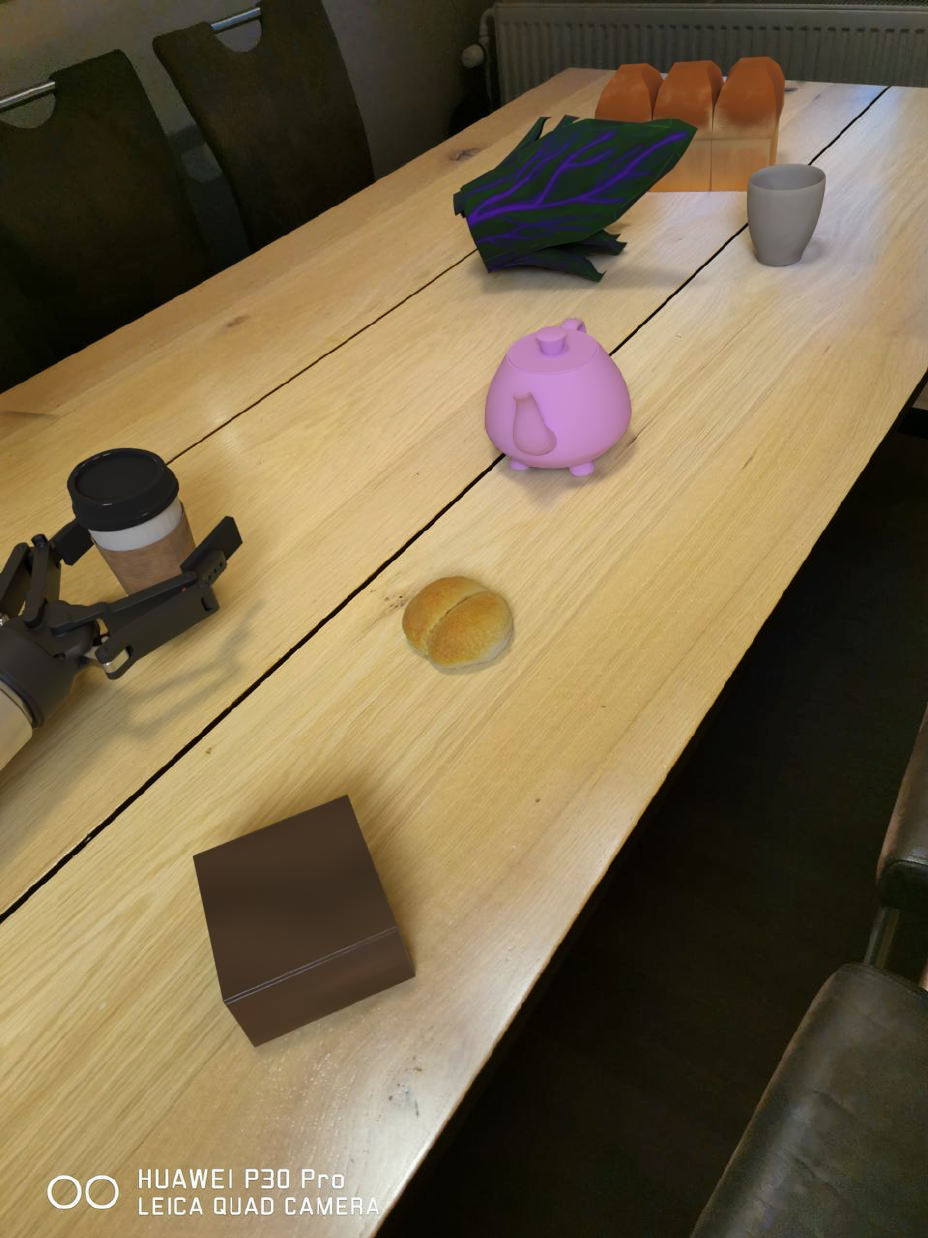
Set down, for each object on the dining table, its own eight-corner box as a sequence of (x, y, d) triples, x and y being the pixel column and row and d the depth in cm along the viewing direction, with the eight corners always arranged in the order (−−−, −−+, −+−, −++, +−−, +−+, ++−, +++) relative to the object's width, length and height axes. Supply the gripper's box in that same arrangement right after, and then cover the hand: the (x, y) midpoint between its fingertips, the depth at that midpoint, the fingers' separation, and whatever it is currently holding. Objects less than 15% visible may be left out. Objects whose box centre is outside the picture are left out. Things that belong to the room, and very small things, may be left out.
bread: (595, 193, 142) (591, 83, 132) (614, 162, 150) (611, 57, 140) (769, 191, 134) (779, 74, 124) (779, 158, 142) (789, 47, 132)
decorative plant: (510, 314, 137) (718, 237, 128) (474, 328, 114) (725, 235, 104) (462, 166, 132) (676, 74, 122) (413, 148, 108) (674, 33, 99)
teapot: (602, 522, 85) (597, 400, 77) (455, 505, 90) (435, 389, 82) (650, 403, 98) (650, 288, 90) (520, 394, 103) (508, 284, 95)
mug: (817, 271, 115) (827, 188, 108) (741, 273, 117) (747, 192, 110) (815, 230, 123) (824, 151, 116) (744, 233, 125) (749, 155, 118)
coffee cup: (172, 572, 89) (110, 434, 78) (244, 590, 85) (189, 449, 75) (112, 632, 83) (37, 493, 73) (187, 654, 80) (119, 512, 70)
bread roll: (462, 688, 73) (455, 652, 70) (390, 635, 78) (381, 600, 76) (538, 630, 76) (533, 594, 74) (464, 583, 82) (457, 547, 79)
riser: (222, 906, 62) (192, 855, 58) (366, 847, 64) (347, 793, 60) (254, 1048, 55) (222, 1001, 51) (415, 976, 57) (397, 926, 53)
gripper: (-98, 696, 75) (79, 530, 88) (148, 774, 65) (304, 575, 79) (-154, 628, 69) (44, 462, 83) (106, 702, 60) (280, 502, 74)
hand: (171, 517), depth 81 cm, fingers open, 12 cm apart
